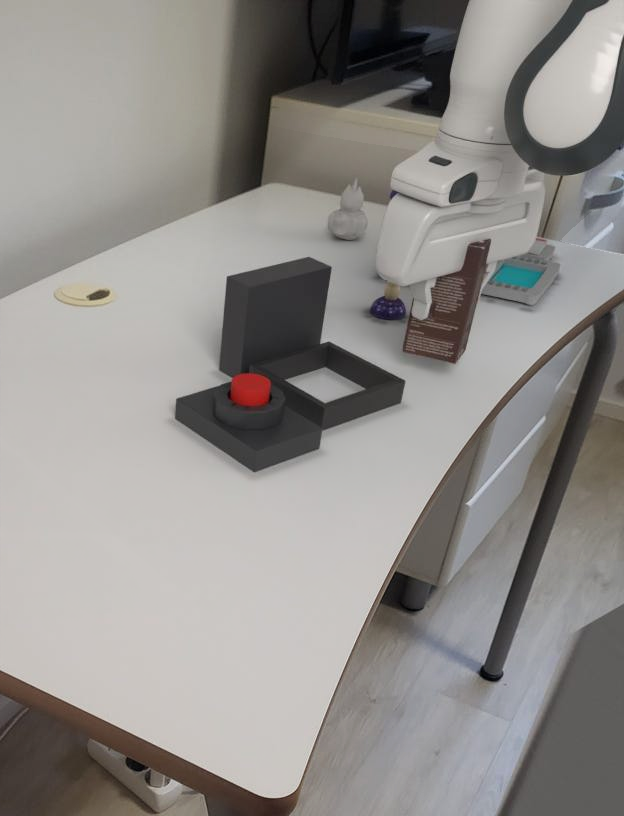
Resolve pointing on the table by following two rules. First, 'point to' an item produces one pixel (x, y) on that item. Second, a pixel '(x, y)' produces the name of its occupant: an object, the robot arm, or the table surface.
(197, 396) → the block
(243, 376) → the power button
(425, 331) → the box
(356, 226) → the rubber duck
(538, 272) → the office telephone
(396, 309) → the toy lamp
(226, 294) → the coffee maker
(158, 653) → the table surface
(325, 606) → the table surface
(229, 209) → the table surface
